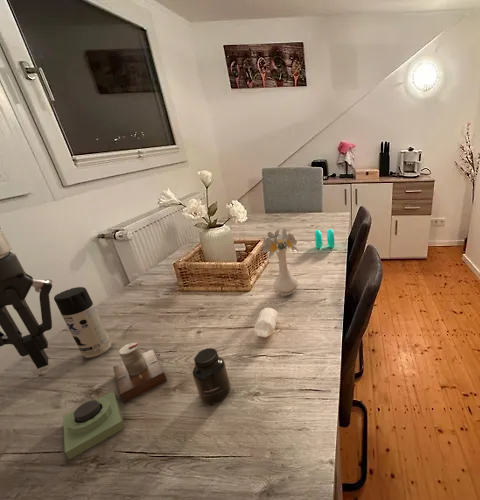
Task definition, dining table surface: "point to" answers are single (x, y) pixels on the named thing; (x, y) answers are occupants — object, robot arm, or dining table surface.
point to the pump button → (87, 411)
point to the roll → (266, 322)
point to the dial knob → (133, 358)
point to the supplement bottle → (210, 376)
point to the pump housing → (92, 426)
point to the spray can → (83, 321)
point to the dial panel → (139, 378)
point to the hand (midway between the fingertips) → (43, 363)
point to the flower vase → (281, 260)
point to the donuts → (329, 238)
